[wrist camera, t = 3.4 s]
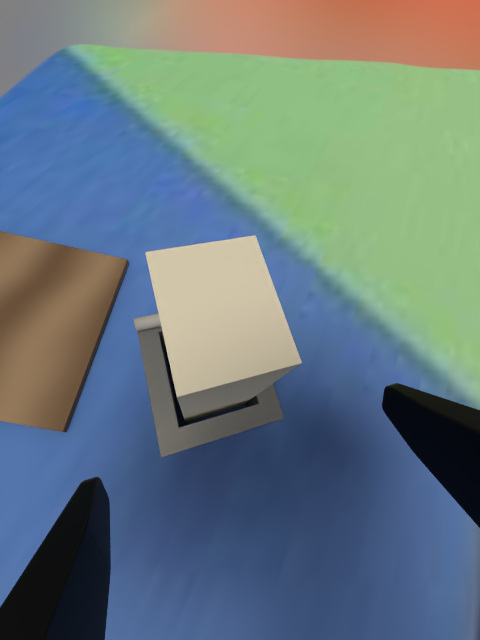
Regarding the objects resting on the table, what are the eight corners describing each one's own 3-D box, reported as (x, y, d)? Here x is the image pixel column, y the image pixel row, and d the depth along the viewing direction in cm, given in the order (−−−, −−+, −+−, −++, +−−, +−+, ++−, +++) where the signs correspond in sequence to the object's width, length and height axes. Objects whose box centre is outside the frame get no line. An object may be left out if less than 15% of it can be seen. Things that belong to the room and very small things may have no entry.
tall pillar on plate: (240, 406, 22) (302, 362, 10) (185, 422, 21) (176, 397, 9) (222, 341, 23) (255, 235, 11) (170, 353, 22) (145, 252, 10)
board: (128, 263, 24) (127, 259, 24) (66, 431, 19) (62, 431, 19) (-25, 229, 23) (-31, 224, 23) (-133, 396, 18) (-144, 395, 18)
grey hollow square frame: (268, 422, 21) (288, 417, 17) (166, 454, 20) (159, 458, 15) (236, 318, 24) (246, 290, 20) (144, 338, 22) (132, 313, 18)
